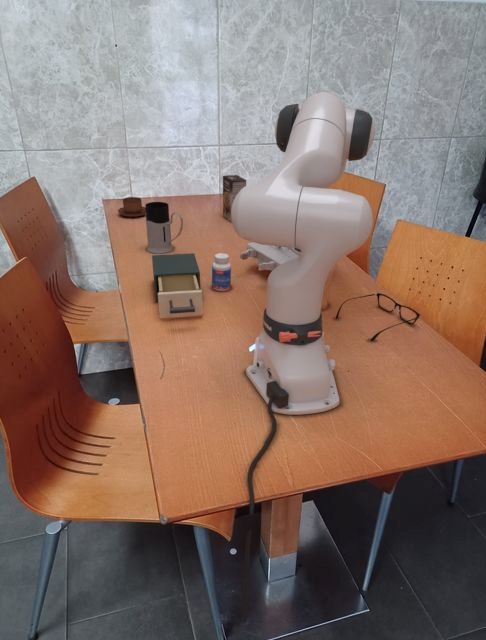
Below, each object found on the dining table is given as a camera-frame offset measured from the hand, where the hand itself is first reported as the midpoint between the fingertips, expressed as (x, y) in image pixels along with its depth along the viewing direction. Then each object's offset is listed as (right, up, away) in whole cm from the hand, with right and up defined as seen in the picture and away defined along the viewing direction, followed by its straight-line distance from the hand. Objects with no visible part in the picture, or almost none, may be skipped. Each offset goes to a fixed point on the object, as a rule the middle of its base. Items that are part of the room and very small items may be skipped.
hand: (249, 261), depth 146 cm
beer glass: (+18, -14, -9) cm, 25 cm away
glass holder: (-28, +8, +25) cm, 38 cm away
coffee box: (-6, +27, +57) cm, 64 cm away
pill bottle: (-8, -8, -1) cm, 11 cm away
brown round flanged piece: (-47, +29, +59) cm, 81 cm away
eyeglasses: (+32, -19, -17) cm, 41 cm away
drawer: (-18, -15, -15) cm, 28 cm away
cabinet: (-21, -9, -3) cm, 23 cm away
